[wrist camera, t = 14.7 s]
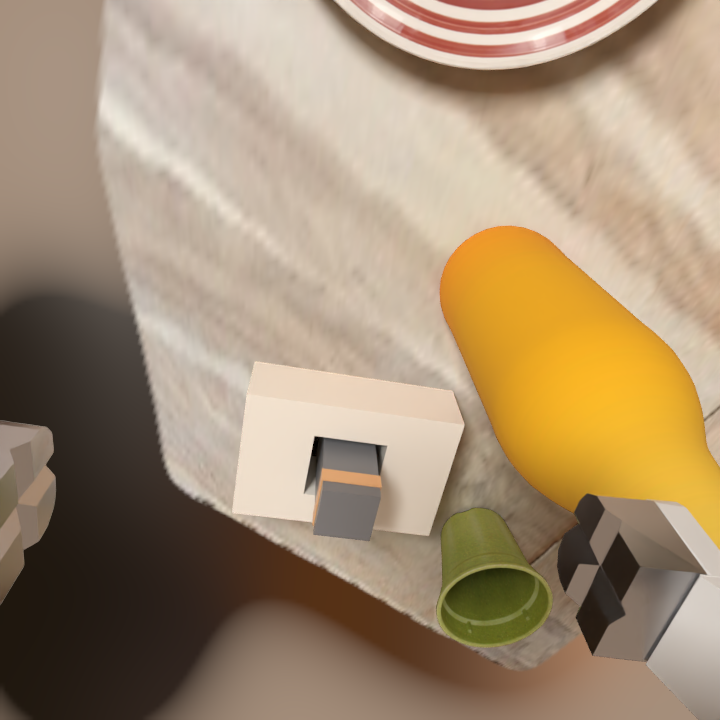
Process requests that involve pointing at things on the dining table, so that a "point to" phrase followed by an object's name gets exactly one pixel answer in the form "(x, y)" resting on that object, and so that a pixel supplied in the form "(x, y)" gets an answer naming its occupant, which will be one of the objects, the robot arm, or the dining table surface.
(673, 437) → the beer bottle
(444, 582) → the plant pot
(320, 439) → the plug
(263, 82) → the dining table surface
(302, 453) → the socket block
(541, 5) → the dinner plate
